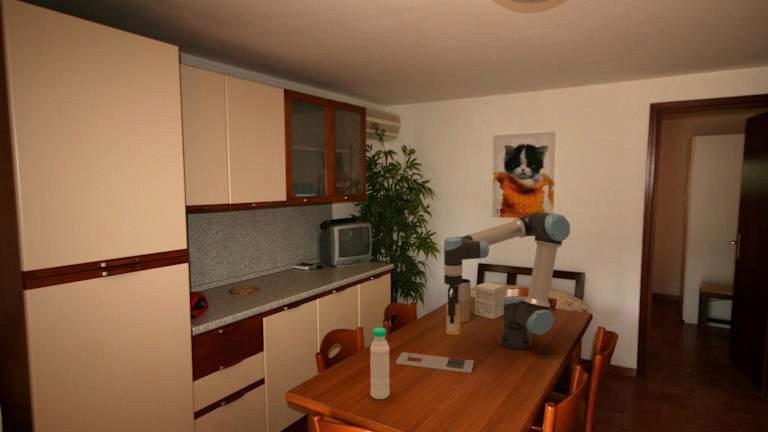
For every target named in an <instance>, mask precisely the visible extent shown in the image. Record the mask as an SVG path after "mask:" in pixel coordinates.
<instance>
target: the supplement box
mask: <svg viewBox="0 0 768 432" xmlns="http://www.w3.org/2000/svg"><path fill="white" fill-rule="evenodd" d="M506 291H507V286H506V285H505V284H499V283H494V282H488V281H487V282H484V283H480V284H476V285H474V315H475V316H476V315H477V316H481V317H483V318H487V319H493V320H495V319H496V318H500V317H502V316H504V306H503V304H504V299H505V298H506V297H507V295H506V294H507V292H506Z"/></svg>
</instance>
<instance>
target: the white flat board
mask: <svg viewBox="0 0 768 432" xmlns="http://www.w3.org/2000/svg"><path fill="white" fill-rule="evenodd" d="M409 358H414V359H415V358H416V359H422V360H421V361H412V360H408V359H409ZM395 362H396V363H395V364H397V365H405V366H413V367H421V368H430V369H435V370H446V371H452V372H453V371H454V372H460V373H461V372H462V373H469V374H471V373H472V370H473V367H474V363H475V361H474V360H473V359H466V358H465V359H464V358H455V357H446V356H436V355H428V354H421V353H411V352H400V355H399V356H398V358H397V359H396V361H395Z"/></svg>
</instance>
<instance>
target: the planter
mask: <svg viewBox="0 0 768 432" xmlns="http://www.w3.org/2000/svg"><path fill="white" fill-rule="evenodd" d="M471 283H472V281H471V280H470V279H467V278H462V284H460V285H457V286H459V290H458V303H460V323H467V322H468V323H469V321H471V289H472V288H471Z"/></svg>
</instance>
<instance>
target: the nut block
mask: <svg viewBox="0 0 768 432" xmlns="http://www.w3.org/2000/svg"><path fill="white" fill-rule="evenodd" d="M445 306H446V309H445V311H446V314H445V317H446V318H445V319H446V322H445V324H446V334H448V335H458V336H459V334H460V332H461V322H460V303H455V315H456V331H449V316H447V314H448V303H447V304H446V305H445Z"/></svg>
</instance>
